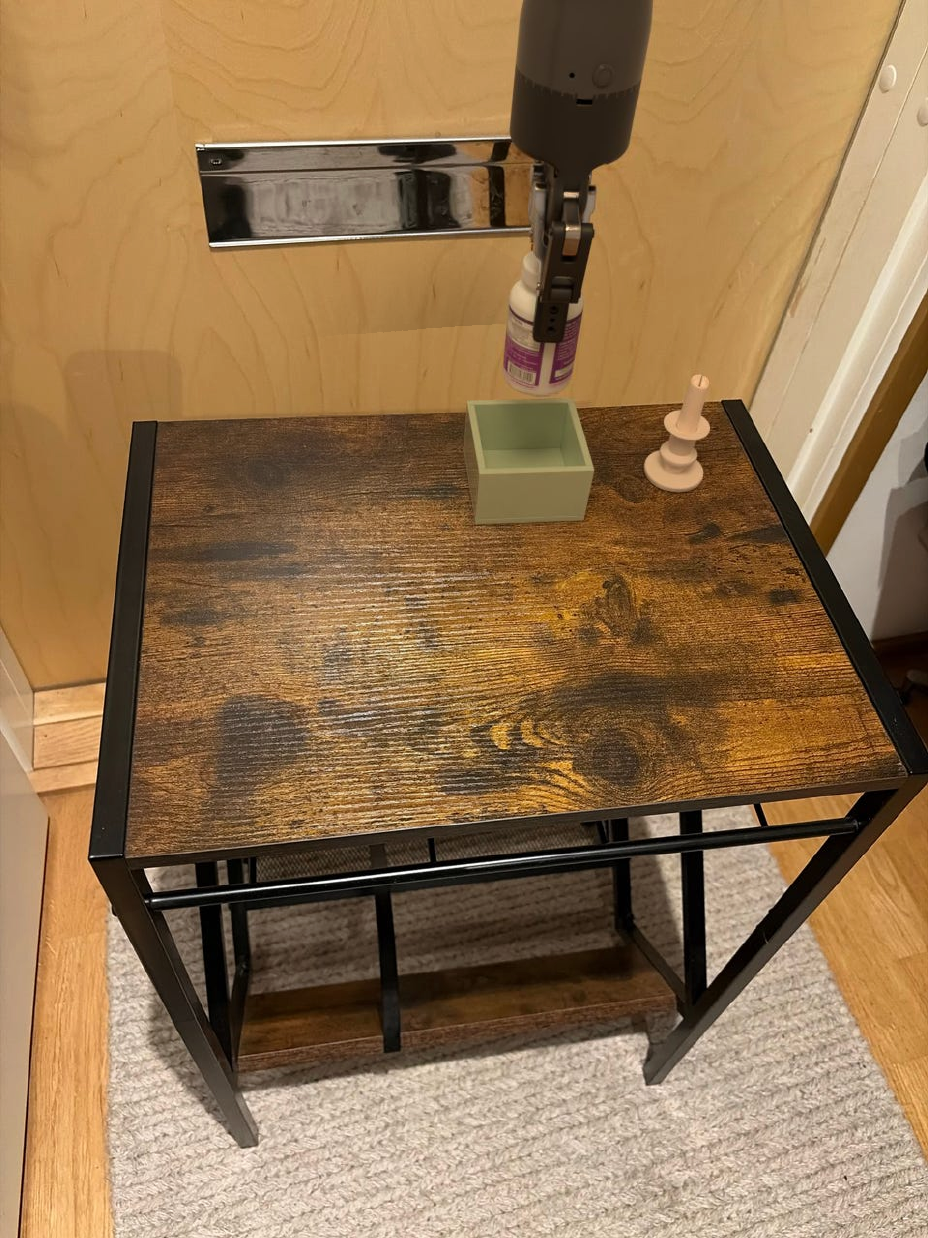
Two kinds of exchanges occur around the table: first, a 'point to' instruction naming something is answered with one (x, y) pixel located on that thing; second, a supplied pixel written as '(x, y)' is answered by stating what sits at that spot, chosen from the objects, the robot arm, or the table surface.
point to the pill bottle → (534, 362)
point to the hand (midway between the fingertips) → (544, 315)
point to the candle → (681, 443)
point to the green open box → (526, 461)
